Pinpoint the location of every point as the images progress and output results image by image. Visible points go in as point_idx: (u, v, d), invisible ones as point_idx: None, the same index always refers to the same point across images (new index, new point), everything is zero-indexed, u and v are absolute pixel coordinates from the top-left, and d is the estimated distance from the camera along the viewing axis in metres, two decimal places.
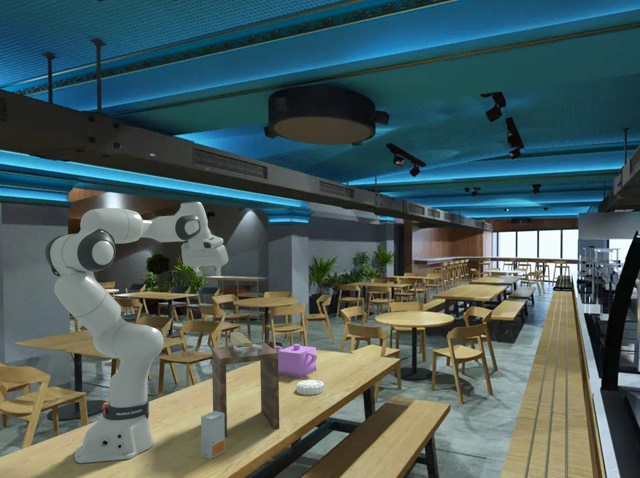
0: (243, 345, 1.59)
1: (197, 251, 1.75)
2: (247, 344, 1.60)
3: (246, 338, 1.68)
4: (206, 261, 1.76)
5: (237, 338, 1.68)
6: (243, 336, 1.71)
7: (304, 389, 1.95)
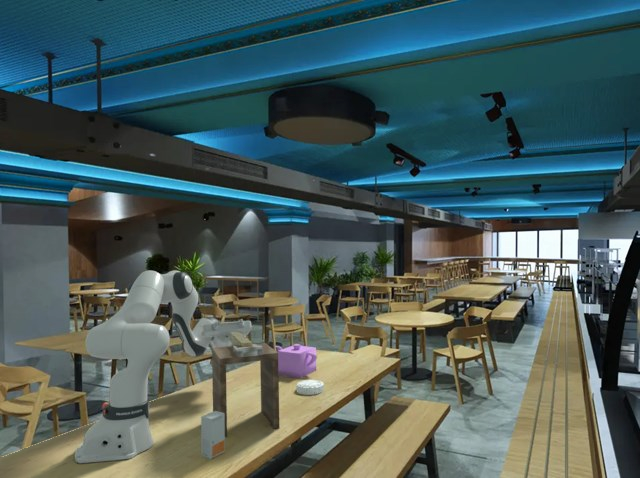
0: (243, 345, 1.59)
1: None
2: (247, 344, 1.60)
3: (246, 338, 1.68)
4: None
5: (237, 338, 1.68)
6: (243, 336, 1.71)
7: (304, 389, 1.95)
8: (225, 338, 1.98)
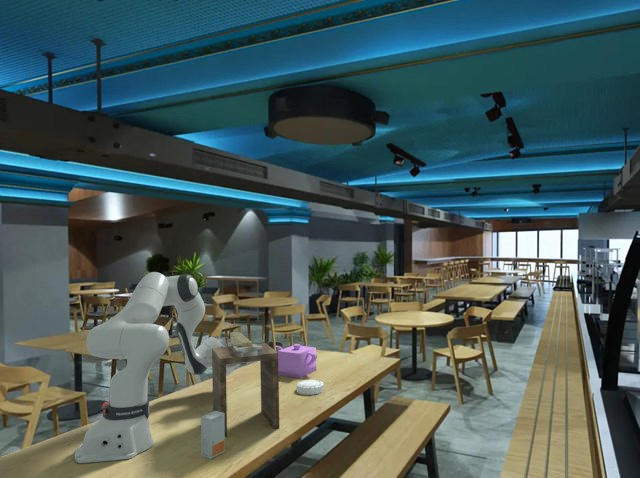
0: (243, 345, 1.59)
1: None
2: (247, 344, 1.60)
3: (246, 338, 1.68)
4: None
5: (237, 338, 1.68)
6: (243, 336, 1.71)
7: (304, 389, 1.95)
8: None
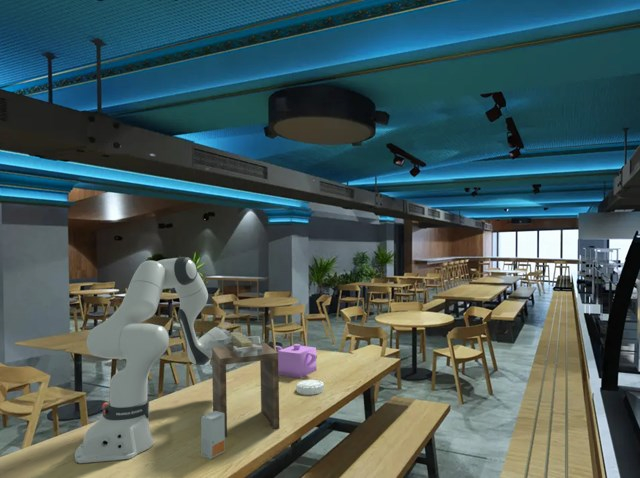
0: (243, 345, 1.59)
1: None
2: (247, 344, 1.60)
3: (246, 338, 1.68)
4: None
5: (237, 338, 1.68)
6: (243, 336, 1.71)
7: (304, 389, 1.95)
8: None
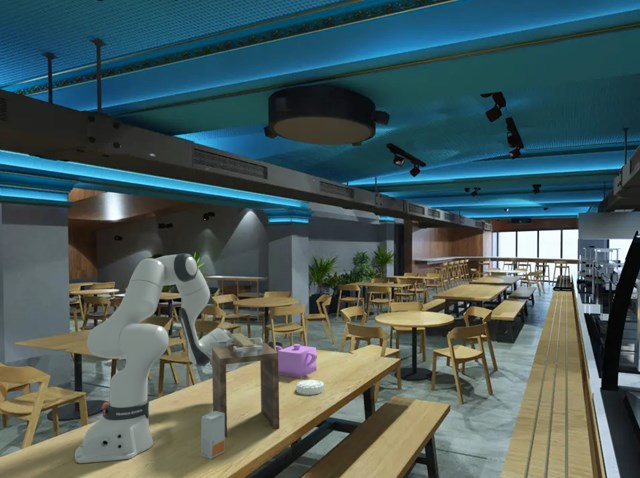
0: None
1: None
2: (249, 346, 1.57)
3: (248, 340, 1.64)
4: None
5: (239, 340, 1.64)
6: (245, 338, 1.68)
7: (304, 389, 1.95)
8: None
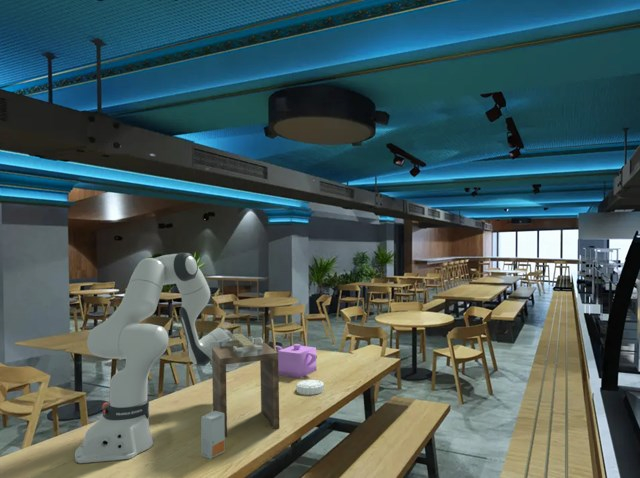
0: None
1: None
2: (249, 346, 1.56)
3: (248, 340, 1.64)
4: None
5: (239, 340, 1.64)
6: (245, 338, 1.68)
7: (304, 389, 1.95)
8: None
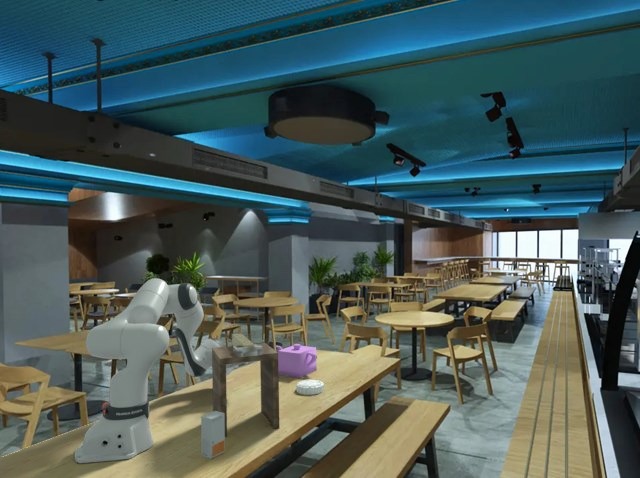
0: None
1: None
2: (249, 346, 1.56)
3: (248, 340, 1.64)
4: None
5: (239, 340, 1.64)
6: (245, 338, 1.68)
7: (304, 389, 1.95)
8: (227, 364, 1.94)
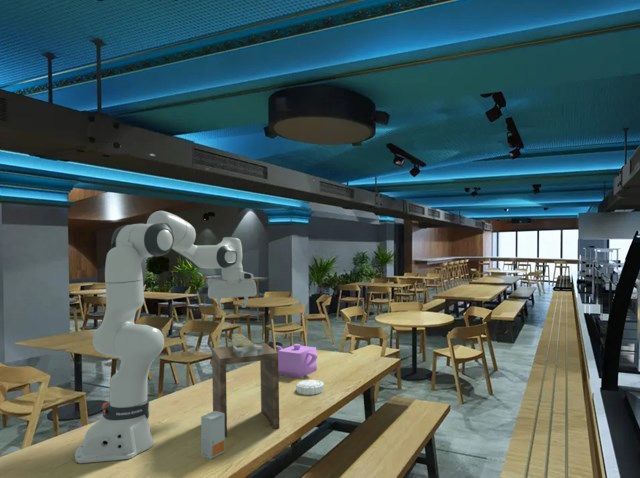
0: None
1: (234, 282, 1.93)
2: (249, 346, 1.56)
3: (248, 340, 1.64)
4: (238, 292, 1.94)
5: (239, 340, 1.64)
6: (245, 338, 1.68)
7: (304, 389, 1.95)
8: None
